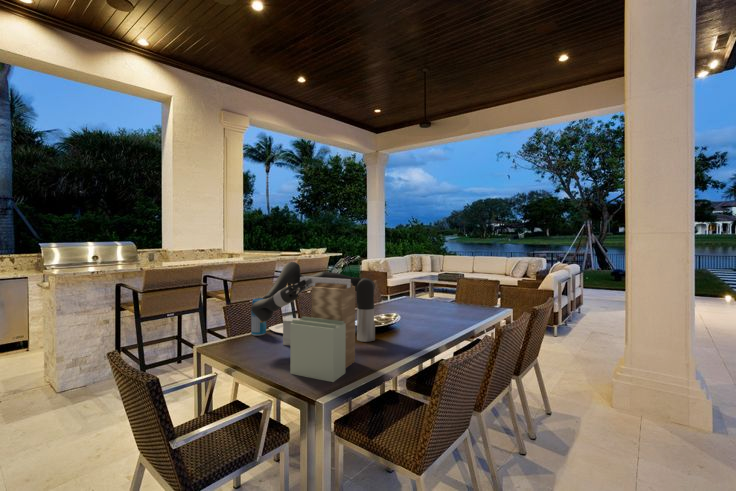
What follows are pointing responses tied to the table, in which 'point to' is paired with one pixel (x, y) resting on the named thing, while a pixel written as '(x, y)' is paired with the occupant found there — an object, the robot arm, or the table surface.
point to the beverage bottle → (257, 323)
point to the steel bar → (326, 281)
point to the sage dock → (318, 348)
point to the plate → (277, 328)
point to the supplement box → (287, 330)
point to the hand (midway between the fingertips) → (310, 280)
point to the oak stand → (337, 311)
